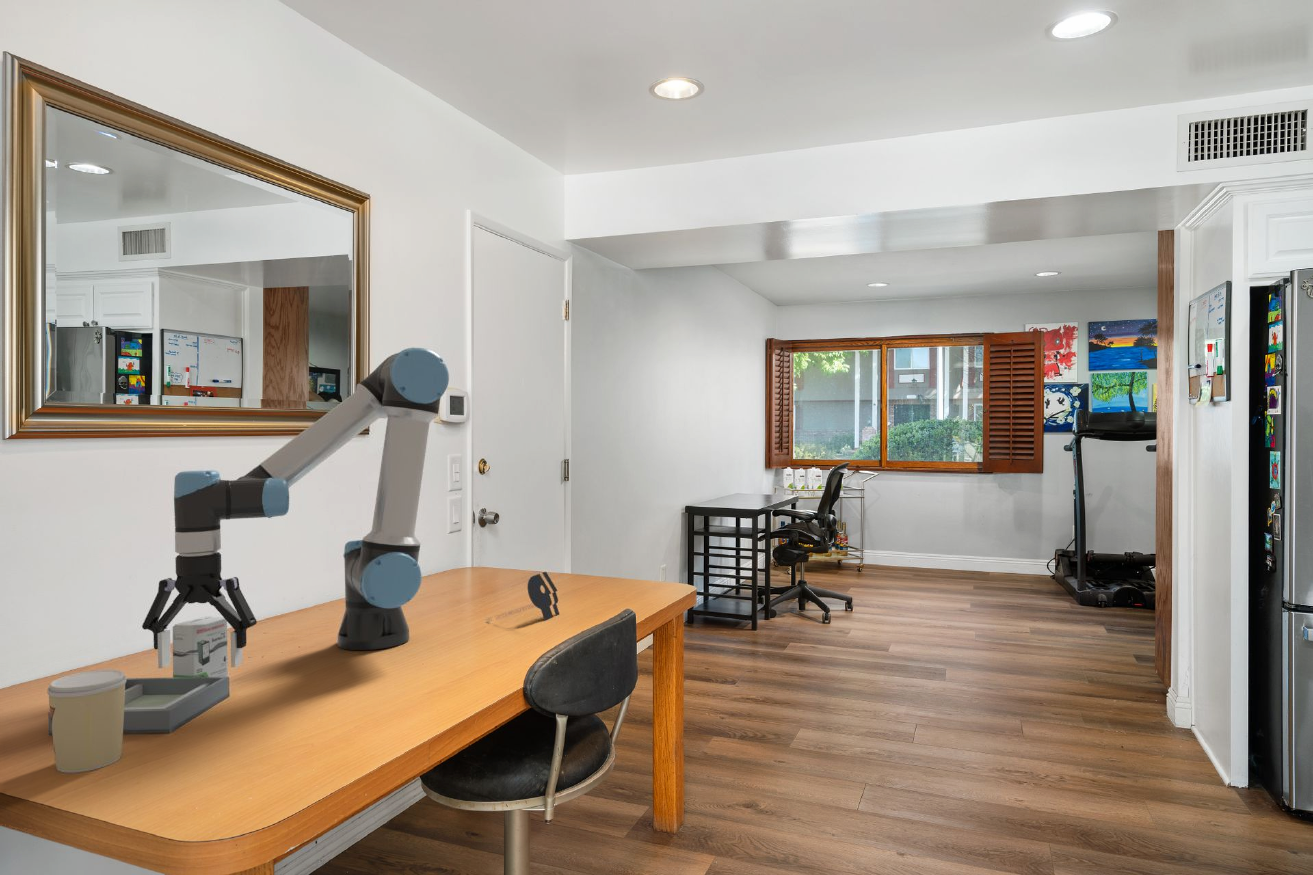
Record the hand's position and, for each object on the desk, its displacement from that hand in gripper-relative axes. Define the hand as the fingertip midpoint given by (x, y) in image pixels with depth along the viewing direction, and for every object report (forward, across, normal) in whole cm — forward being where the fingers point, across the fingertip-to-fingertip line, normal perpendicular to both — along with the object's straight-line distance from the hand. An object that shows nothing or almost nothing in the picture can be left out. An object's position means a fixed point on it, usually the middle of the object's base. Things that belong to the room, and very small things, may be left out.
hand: (200, 665), depth 156 cm
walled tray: (+3, 0, +17) cm, 17 cm away
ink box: (+4, 0, 0) cm, 4 cm away
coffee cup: (+4, -4, +37) cm, 37 cm away
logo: (+4, -55, -50) cm, 75 cm away
